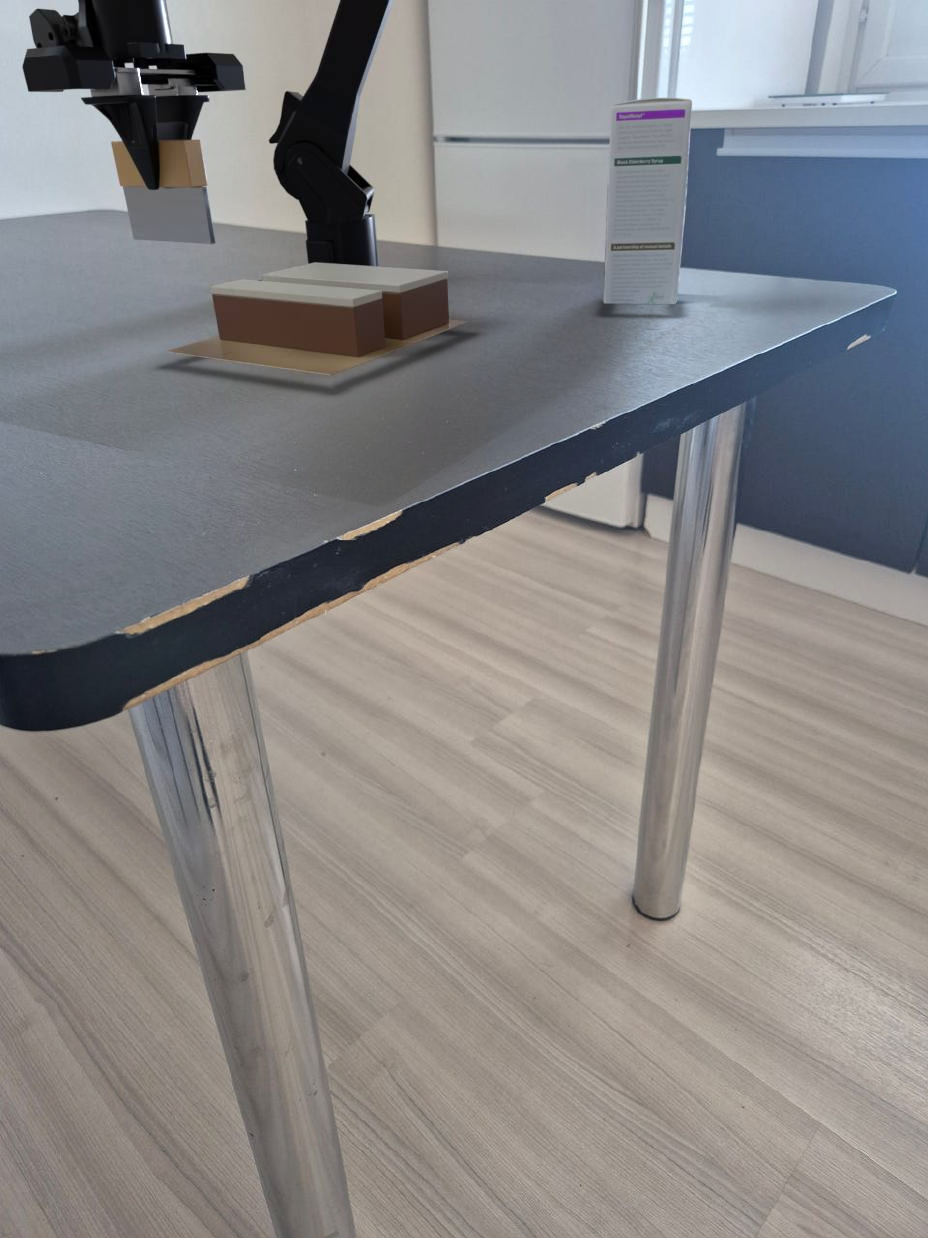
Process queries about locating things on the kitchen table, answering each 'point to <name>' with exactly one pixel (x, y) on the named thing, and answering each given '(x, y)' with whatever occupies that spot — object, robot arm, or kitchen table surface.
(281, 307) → the cake slice
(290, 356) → the cake board
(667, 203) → the syrup box
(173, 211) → the scraper
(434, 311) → the cake
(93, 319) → the kitchen table surface
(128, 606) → the kitchen table surface
